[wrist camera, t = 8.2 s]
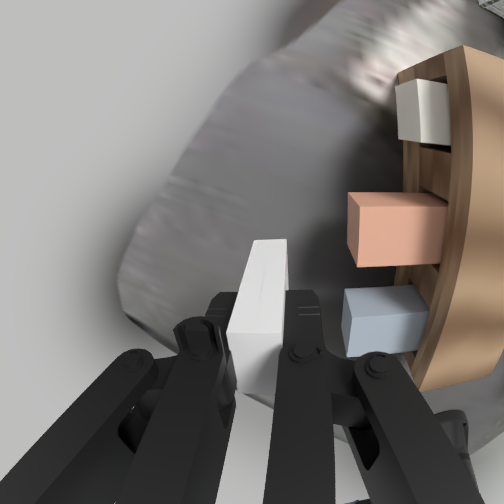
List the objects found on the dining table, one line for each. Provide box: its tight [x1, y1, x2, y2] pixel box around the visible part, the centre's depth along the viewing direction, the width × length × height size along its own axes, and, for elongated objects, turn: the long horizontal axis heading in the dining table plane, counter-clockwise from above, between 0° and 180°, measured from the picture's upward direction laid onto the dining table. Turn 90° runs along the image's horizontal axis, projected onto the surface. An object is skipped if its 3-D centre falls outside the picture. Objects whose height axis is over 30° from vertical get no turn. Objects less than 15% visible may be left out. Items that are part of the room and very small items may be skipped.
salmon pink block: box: [347, 192, 449, 267], centre depth 18 cm, size 4×9×4 cm, turn 95°
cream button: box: [395, 79, 451, 146], centre depth 14 cm, size 4×9×4 cm, turn 95°
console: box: [394, 45, 504, 392], centre depth 18 cm, size 24×8×11 cm, turn 5°
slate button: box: [341, 285, 430, 357], centre depth 21 cm, size 4×9×4 cm, turn 95°
